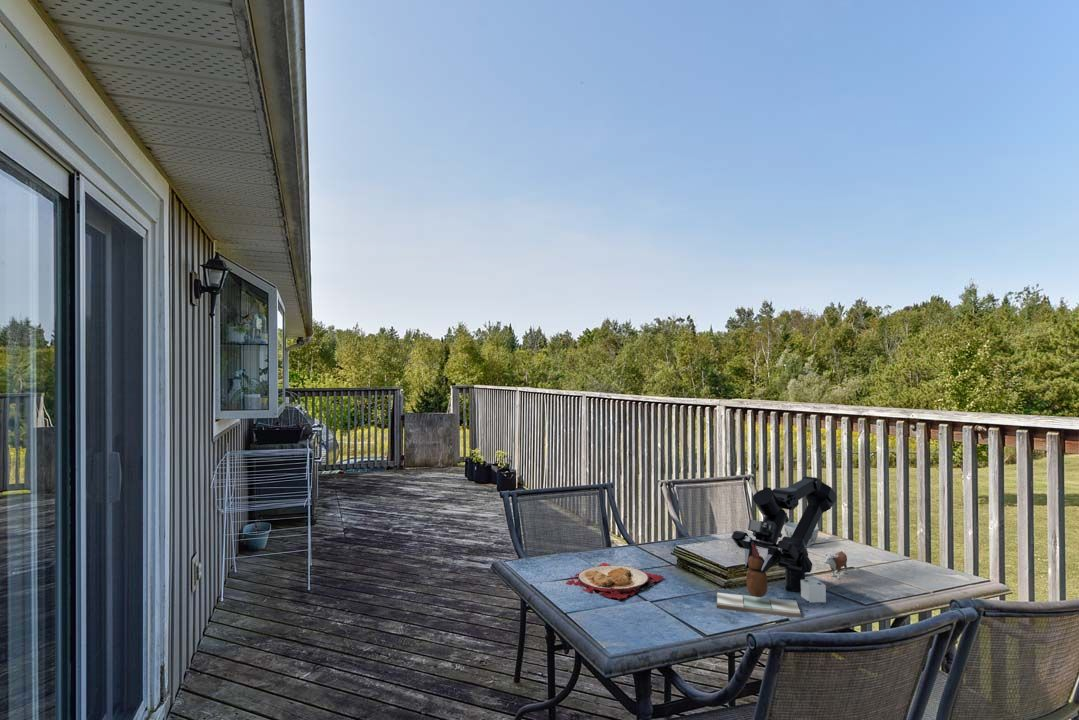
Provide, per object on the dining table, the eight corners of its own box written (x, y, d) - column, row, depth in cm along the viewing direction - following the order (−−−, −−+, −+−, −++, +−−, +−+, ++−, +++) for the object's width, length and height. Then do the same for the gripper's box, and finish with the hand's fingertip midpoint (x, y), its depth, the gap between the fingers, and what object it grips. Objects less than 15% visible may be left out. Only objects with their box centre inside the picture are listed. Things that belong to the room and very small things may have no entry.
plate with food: (664, 582, 189) (664, 571, 189) (620, 602, 169) (620, 590, 169) (603, 567, 205) (603, 557, 205) (556, 584, 185) (556, 573, 185)
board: (716, 595, 174) (716, 591, 174) (796, 604, 167) (796, 599, 167) (716, 608, 164) (716, 603, 165) (801, 617, 158) (801, 612, 158)
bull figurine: (822, 579, 189) (821, 554, 190) (838, 570, 198) (837, 546, 198) (835, 582, 186) (835, 557, 186) (851, 573, 195) (851, 549, 195)
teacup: (826, 548, 225) (826, 527, 225) (801, 551, 220) (801, 530, 221) (797, 538, 239) (796, 519, 239) (773, 541, 234) (773, 521, 235)
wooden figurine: (746, 589, 170) (745, 539, 171) (767, 592, 168) (765, 540, 169) (746, 598, 164) (745, 545, 165) (768, 600, 162) (766, 547, 163)
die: (801, 596, 174) (800, 579, 174) (816, 596, 174) (816, 579, 174) (809, 602, 169) (809, 585, 169) (826, 602, 169) (825, 584, 169)
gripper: (733, 504, 177) (714, 547, 169) (792, 514, 162) (774, 562, 155) (748, 525, 182) (729, 568, 174) (806, 537, 167) (789, 584, 160)
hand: (754, 569), depth 166 cm, fingers closed on wooden figurine, 5 cm apart
